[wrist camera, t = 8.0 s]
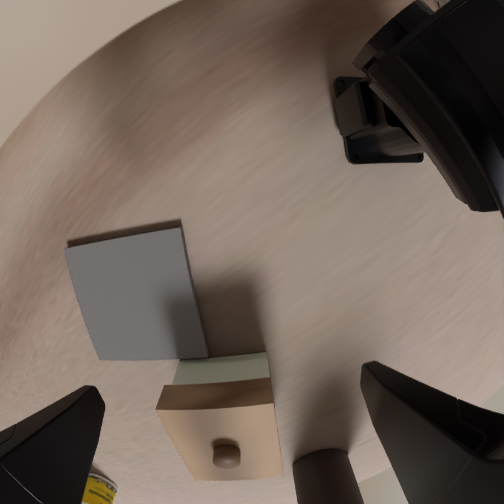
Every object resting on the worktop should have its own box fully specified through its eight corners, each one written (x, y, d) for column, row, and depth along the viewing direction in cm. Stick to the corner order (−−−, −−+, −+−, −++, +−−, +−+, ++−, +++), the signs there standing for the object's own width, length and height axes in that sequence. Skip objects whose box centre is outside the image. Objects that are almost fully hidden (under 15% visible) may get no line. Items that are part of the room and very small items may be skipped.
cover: (270, 376, 16) (274, 415, 13) (281, 453, 18) (285, 485, 15) (164, 385, 16) (151, 420, 13) (198, 458, 18) (193, 489, 15)
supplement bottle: (123, 487, 27) (109, 533, 17) (108, 490, 28) (94, 531, 18) (95, 470, 26) (76, 515, 16) (82, 473, 27) (64, 514, 17)
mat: (181, 226, 19) (180, 227, 18) (208, 352, 21) (207, 357, 20) (67, 247, 19) (63, 249, 18) (102, 356, 21) (99, 360, 20)
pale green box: (266, 351, 21) (271, 388, 16) (274, 411, 22) (279, 447, 18) (180, 360, 21) (168, 395, 17) (200, 417, 22) (194, 452, 18)
